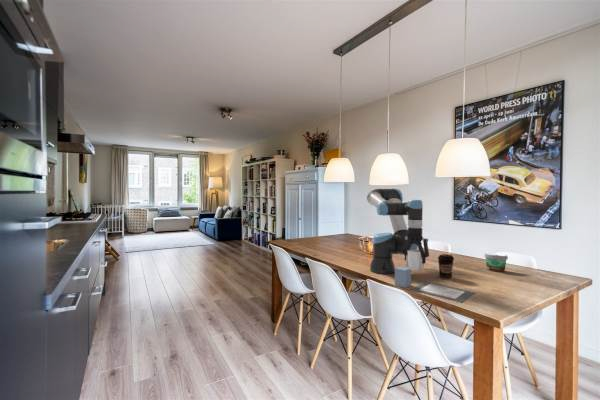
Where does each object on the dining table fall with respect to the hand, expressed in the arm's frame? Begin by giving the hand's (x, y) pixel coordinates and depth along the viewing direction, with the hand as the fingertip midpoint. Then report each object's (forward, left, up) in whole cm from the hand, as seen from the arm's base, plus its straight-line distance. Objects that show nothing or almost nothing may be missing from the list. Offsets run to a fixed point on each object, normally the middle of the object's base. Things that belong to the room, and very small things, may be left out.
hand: (414, 267), depth 163 cm
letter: (+18, -9, -7) cm, 21 cm away
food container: (+28, +52, -7) cm, 59 cm away
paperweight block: (0, -14, -7) cm, 15 cm away
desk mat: (+18, -9, -7) cm, 21 cm away
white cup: (0, 0, -1) cm, 1 cm away
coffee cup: (+11, +16, -7) cm, 21 cm away
